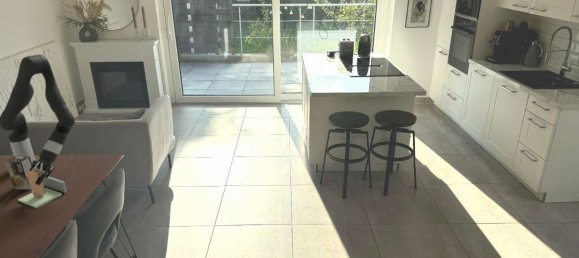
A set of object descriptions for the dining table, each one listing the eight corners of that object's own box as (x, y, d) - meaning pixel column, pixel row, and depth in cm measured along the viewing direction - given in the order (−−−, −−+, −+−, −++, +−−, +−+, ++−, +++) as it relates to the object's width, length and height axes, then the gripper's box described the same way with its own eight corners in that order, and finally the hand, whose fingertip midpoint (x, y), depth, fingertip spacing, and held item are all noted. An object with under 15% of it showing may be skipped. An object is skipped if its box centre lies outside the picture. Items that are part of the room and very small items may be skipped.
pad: (18, 201, 191) (18, 199, 191) (44, 188, 202) (43, 187, 202) (36, 208, 185) (35, 206, 185) (61, 194, 196) (61, 193, 196)
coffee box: (38, 183, 207) (30, 156, 201) (30, 189, 201) (21, 162, 195) (22, 182, 208) (14, 155, 202) (13, 189, 202) (4, 161, 196)
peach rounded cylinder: (31, 195, 192) (24, 173, 187) (41, 190, 196) (34, 169, 191) (37, 197, 190) (30, 176, 185) (47, 192, 194) (41, 171, 189)
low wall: (44, 185, 205) (41, 175, 202) (46, 184, 206) (43, 174, 203) (65, 193, 198) (62, 182, 195) (67, 191, 199) (64, 181, 196)
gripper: (35, 145, 194) (17, 177, 189) (53, 151, 188) (36, 184, 183) (48, 151, 201) (31, 182, 196) (66, 156, 195) (49, 188, 190)
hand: (33, 183), depth 189 cm, fingers closed on peach rounded cylinder, 5 cm apart
